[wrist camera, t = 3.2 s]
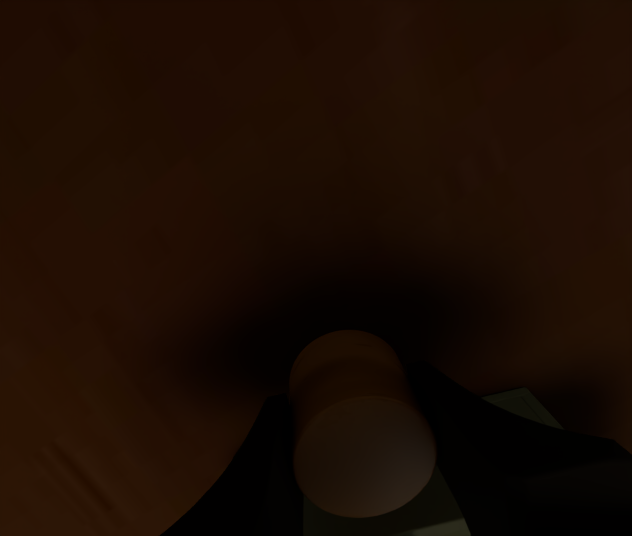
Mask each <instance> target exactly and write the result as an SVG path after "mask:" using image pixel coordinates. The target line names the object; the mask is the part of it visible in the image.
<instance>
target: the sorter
mask: <svg viewBox="0 0 632 536" xmlns="http://www.w3.org/2000/svg"><path fill="white" fill-rule="evenodd" d="M481 398H482V399H484V400H486V401H488V402H490V403H492V404H494V405H496V406H498V407H500V408H502V409H505V410H507V411H509V412H511V413H514V414H516V415H519V416H521V417H524V418H527V419H530V420H533V421H536V422H539V423H542V424H545V425H548V426H552V427H555V428H559V429H563V430H564V428H563V427H562V426H561V425H560V424H559V423H558V422H557V421H556V420H555V419H554V418H553V416H552V415H551V414H550V413H549V412H548V411H547V410H546V409H545V408H544V407H543V405H542V404H541V403H540V402H539V401H538V400H537V399H536V398H535V397H534V396H533V395H532V394H531V392H530V391H529V390H528V389H527V388H526V387H523V388H519V389H515V390H511V391H506V392H502V393H498V394H494V395H489V396H485V397H481ZM234 457H235V456H234ZM303 536H471V534H470V532H469V529H468V527H467V524H466V522H465V519H464V517H463V515H462V513H461V510H460V508H459V506H458V504H457V502H456V500H455V498H454V496H453V494H452V493H451V491H450V489H449V487H448V485H447V483H446V481H445V479H444V477H443V476H442V474H441V472H440V470H439V468H438V466H437V464H436V467H435V469H434V472H433V475H432V476H431V478H430V480H429V482H428V483H427V485H426V486H425V487H424V489H423V490H422V491H421V492H420V493H419V494H418V495H417V496H416V497H414V498H413V499H412V500H411V501H409V502H408V503H406V504H405V505H403V506H401V507H400V508H398V509H396V510H393V511H391V512H388V513H385V514H382V515H378V516H373V517H364V518H351V517H343V516H339V515H335V514H332V513H329V512H327V511H325V510H323V509H321V508H319V507H317V506H316V505H315V504H313V503H312V502H311V501H310V500H308V499H307V498H306V497H305V495H304V504H303Z"/></svg>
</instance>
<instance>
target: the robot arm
mask: <svg viewBox="0 0 632 536" xmlns="http://www.w3.org/2000/svg"><path fill="white" fill-rule="evenodd" d="M406 368H407V373H408V379H409V381H410V383H411V385H412V387H413V389H414V391H415V393H416V395H417V397H418V399H419V401H420V403H421V405H422V407H423V409H424V411H425V414H426V416H427V418H428V420H429V422H430V424H431V426H432V428H433V430H434V433H435V435H436V439H437V445H438V456H437V462H436V464H437V466H438V468H439V470H440V472H441V474H442V476H443V477H444V479H445V481H446V483H447V485H448V487H449V489H450V491H451V493H452V494H453V496H454V498H455V500H456V502H457V504H458V506H459V508H460V510H461V513H462V515H463V517H464V519H465V522H466V524H467V527H468V529H469V532H470V534H471V536H632V455H631V454H630V453H629V452H628V451H627V450H625V449H624V448H623V447H622V446H621V445H619V444H618V443H617V442H616V441H615V440H613V439H607V438H602V437H596V436H590V435H585V434H579V433H575V432H571V431H567V430H563V429H559V428H555V427H552V426H548V425H545V424H542V423H539V422H536V421H533V420H530V419H527V418H524V417H521V416H519V415H516V414H514V413H511V412H509V411H507V410H505V409H502V408H500V407H498V406H496V405H494V404H492V403H490V402H488V401H486V400H484V399H482V398H480V397H479V396H477V395H475V394H473V393H472V392H470V391H468V390H467V389H465V388H464V387H462V386H461V385H459V384H457V383H456V382H454V381H453V380H451V379H450V378H449V377H447V376H446V375H444V374H443V373H442V372H440V371H439V370H438V369H436V368H435V367H433V366H432V365H431V364H429V363H428V362H427V361H425V360H422V361H418V362H414V363H409V364H406ZM303 504H304V494H303V493H302V492H301V490H300V489H299V487H298V485H297V483H296V481H295V478H294V476H293V471H292V462H291V425H290V405H289V402H288V398H287V395H286V393H282V394H278V395H274V396H270V397H267V399H266V400H265V402H264V404H263V406H262V408H261V411H260V413H259V415H258V417H257V419H256V421H255V423H254V424H253V426H252V428H251V430H250V432H249V434H248V435H247V437H246V439H245V441H244V442H243V444H242V446H241V447H240V449H239V450H238V452H237V453H236V455H235V457H234V458H233V460H232V461H231V463H230V464H229V465H228V467H227V468H226V470H225V471H224V472H223V473H222V475H221V476H220V477H219V479H218V480H217V481H216V482H215V483H214V485H213V486H212V487H211V488H210V489H209V490H208V491H207V492H206V493H205V494H204V495H203V496H202V498H201V499H200V500H199V501H198V502H197V503H196V504H195V505H194V506H193V507H192V508H191V509H190V510H189V511H188V512H187V513H186V514H185V515H183V516H182V517H181V518H180V519H179V520H178V521H177V522H176V523H174V524H173V525H172V526H171V527H170V528H169V529H167V530H166V531H165V532H164V533H162V534H161V535H160V536H303Z"/></svg>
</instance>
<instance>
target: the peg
mask: <svg viewBox="0 0 632 536" xmlns="http://www.w3.org/2000/svg"><path fill="white" fill-rule="evenodd" d="M289 387H290V425H291V462H292V471H293V476H294V478H295V481H296V483H297V485H298V487H299V489H300V490H301V492H302V493H303V494H304V495H305V497H306V498H307V499H308V500H310V501H311V502H312V503H313V504H315V505H316V506H317V507H319V508H321V509H323V510H325V511H327V512H329V513H332V514H335V515H339V516H343V517H351V518H364V517H373V516H378V515H382V514H385V513H388V512H391V511H393V510H396V509H398V508H400V507H401V506H403V505H405V504H406V503H408V502H409V501H411V500H412V499H413V498H414V497H416V496H417V495H418V494H419V493H420V492H421V491H422V490H423V489H424V487H425V486H426V485H427V483H428V482H429V480H430V478H431V476H432V475H433V472H434V469H435V467H436V462H437V456H438V445H437V439H436V435H435V433H434V430H433V428H432V426H431V424H430V422H429V420H428V418H427V416H426V414H425V411H424V409H423V407H422V405H421V403H420V401H419V399H418V397H417V395H416V393H415V391H414V389H413V387H412V385H411V383H410V381H409V379H408V377H407V375H406V373H405V371H404V369H403V367H402V364H401V362H400V360H399V358H398V356H397V355H396V353H395V352H394V350H393V349H392V348H391V347H390V345H388V344H387V343H386V342H385V341H384V340H382V339H381V338H379V337H377V336H375V335H373V334H370V333H367V332H364V331H359V330H340V331H334V332H331V333H328V334H325V335H323V336H321V337H319V338H317V339H315V340H314V341H312V342H311V343H310V344H309V345H307V346H306V347H305V348H304V349H303V350H302V351H301V353H300V354H299V355H298V357H297V358H296V360H295V362H294V364H293V367H292V369H291V373H290V380H289Z"/></svg>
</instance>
